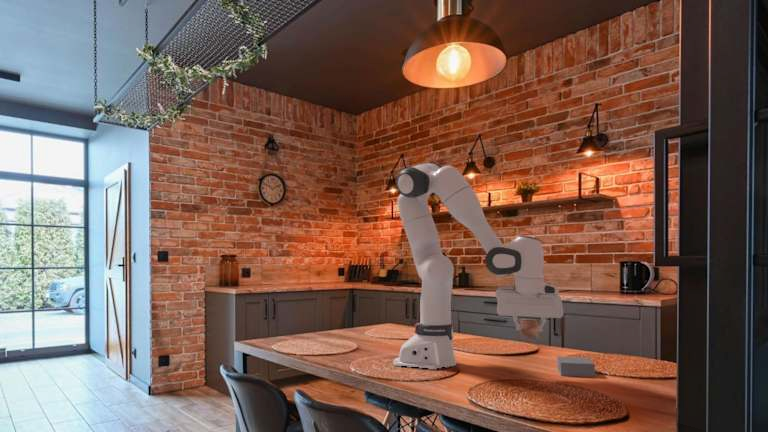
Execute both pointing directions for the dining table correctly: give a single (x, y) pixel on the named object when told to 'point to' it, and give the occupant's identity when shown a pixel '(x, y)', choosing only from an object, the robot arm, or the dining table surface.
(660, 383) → the dining table surface
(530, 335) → the cube
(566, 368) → the base block
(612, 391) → the dining table surface
